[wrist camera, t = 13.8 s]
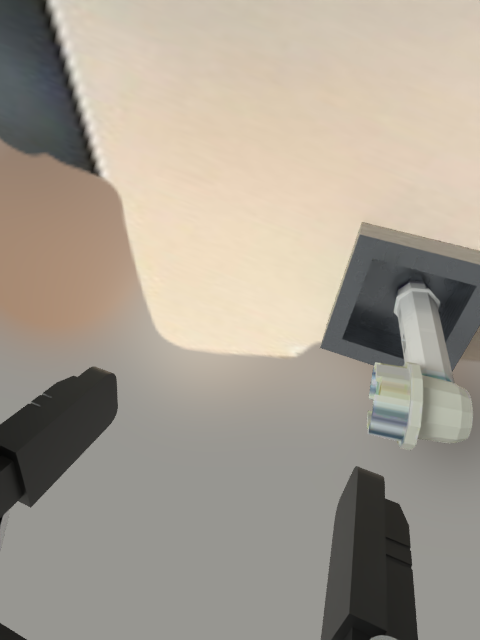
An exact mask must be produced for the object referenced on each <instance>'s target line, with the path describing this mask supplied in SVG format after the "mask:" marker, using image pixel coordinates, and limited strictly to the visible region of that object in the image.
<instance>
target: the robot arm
mask: <svg viewBox="0 0 480 640" xmlns="http://www.w3.org/2000/svg"><path fill="white" fill-rule="evenodd" d="M117 409H118V403H117V381H116V376H115V375H114V374H113V373H111V372H108V371H105V370H103V369H99V368H97V367H91V368H89V369H88V370H86V371H85V372H84V373H82V374H81V375H80V376H78V377H76V376H72V377H70V378H67V379H65V380H62V381H60V382H57V383H56V384H54V385H53V386H52V387H50V388H49V389H48V390H46V391H45V392H44V393H43V394H42V395H40V396H38V397H37V398H36V399H34V400H33V401H32V402H31V404H27V405H26V406H25V407H23V408H22V409H21V410H19V411H18V412H17V413H15V414H14V415H13V416H11V417H10V418H9V419H7V420H6V421H5V422H3V423H2V424H1V425H0V550H1V545H2V542H3V538H4V534H5V530H6V526H7V522H8V518H9V509H10V508H11V507H12V506H13V505H14V504H15V503H16V502H17V501H19V502H21V503H23V504H25V505H27V506H29V507H32V506H33V505H34V504H35V503H36V502H37V500H38V499H39V498H40V497H41V496H42V495H43V494H44V493H45V492H46V491H47V490H48V489H49V488H50V487H51V486H52V485H53V484H54V483H55V482H56V481H57V480H58V478H59V477H60V476H61V475H62V474H63V473H64V472H65V471H66V470H67V469H68V468H69V467H70V466H71V465H72V464H73V463H74V462H75V461H76V460H77V459H78V458H79V457H80V455H81V454H82V453H83V452H84V451H85V450H86V449H87V448H88V447H89V446H90V445H91V444H92V443H93V442H94V441H95V440H96V439H97V438H98V437H99V436H100V435H101V433H102V432H103V431H104V430H105V429H106V428H107V427H108V426H109V425H110V424H111V423H112V421H113V420H114V418H115V416H116V413H117ZM384 483H385V482H384V477H383V476H381V475H378V474H376V473H373V472H370V471H368V470H365V469H362V468H360V467H357V466H356V467H355V468H354V470H353V472H352V474H351V476H350V478H349V480H348V483H347V485H346V487H345V489H344V491H343V493H342V496H341V498H340V500H339V503H338V507H337V511H336V516H335V523H334V531H333V539H332V548H331V557H330V566H329V574H328V583H327V592H326V601H325V609H324V617H323V626H322V635H321V640H418V635H417V622H416V609H415V597H414V585H413V572H412V569H411V566H412V559H411V551H410V535H409V525H408V523H407V520H406V518H405V516H404V514H403V511H402V509H401V507H400V505H399V504H398V503H395V502H392V501H390V500H387V499H385V484H384ZM0 640H26V639H25V638H23V637H21V636H20V635H18V634H17V633H15V632H14V631H12V630H10V629H9V628H7V627H6V626H4V625H2V624H1V623H0Z"/></svg>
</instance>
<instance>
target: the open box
mask: <svg viewBox="0 0 480 640" xmlns="http://www.w3.org/2000/svg"><path fill="white" fill-rule="evenodd" d="M408 281H419V282H424V283H425V284H426V285H427V286H428V288H429V289H430V290H431V291H432V292H433V294H434V295H435V296H436V297H437V298H438V299H439V301H440V305H439V309H438V312H439V316H440V321H441V325H442V330H443V334H444V339H445V343H446V348H447V352H448V357H449V361H450V366H451V370H452V371H453V369H454V368H455V366H456V364H457V363H458V361H459V359H460V358H461V356H462V354H463V353H464V351H465V349H466V348H467V346H468V344H469V343H470V341H471V339H472V338H473V336H474V334H475V332H476V331H477V329H478V327H479V326H480V251H478V250H474V249H470V248H466V247H461V246H457V245H453V244H449V243H445V242H441V241H437V240H433V239H429V238H425V237H421V236H417V235H412V234H408V233H404V232H400V231H396V230H392V229H388V228H384V227H380V226H376V225H372V224H368V223H364V222H362V224H361V227H360V230H359V232H358V235H357V238H356V241H355V244H354V247H353V250H352V253H351V256H350V259H349V261H348V264H347V267H346V270H345V273H344V276H343V279H342V282H341V285H340V288H339V291H338V293H337V296H336V299H335V302H334V305H333V308H332V311H331V314H330V317H329V320H328V323H327V326H326V330H325V333H324V337H323V340H322V344H321V348H323V349H326V350H329V351H332V352H335V353H338V354H341V355H344V356H347V357H350V358H353V359H356V360H359V361H362V362H365V363H368V364H371V365H375V362H377V363H384V364H390V365H396V366H404V363H405V362H404V355H403V348H402V341H401V334H400V327H399V321H398V317H397V315H396V314H395V313H394V307H395V302H396V296H397V290H398V288H399V287H401V286H402V285H404V284H405V283H407V282H408Z"/></svg>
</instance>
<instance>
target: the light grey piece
mask: <svg viewBox="0 0 480 640" xmlns="http://www.w3.org/2000/svg"><path fill="white" fill-rule="evenodd" d="M439 305H440V301H439V299H438V298H437V297H436V296H435V295H434V294H433V292H432V291H431V290H430V289H429V288H428V286H427V285H426V284H425V283H424V282H419V281H408V282H407V283H405V284H404V285H402V286H401V287H399V288H398V290H397V296H396V302H395V307H394V313H395V314H396V315H397V317H398V321H399V327H400V334H401V341H402V348H403V355H404V362H405V363H404V366H396V365H390V364H384V363H377V362H375V365H374V368H373V373H372V379H371V386H370V393H369V399H372V400H373V411H368V416H367V429H368V435H373V436H377V437H382V438H386V439H391V440H395V441H397V443H398V445H399V447H400V448H402V449H407V450H411V449H413V448H414V447H415V446H416V443H417V439H422V440H429V441H437V442H445V443H456V442H461V441H464V440H466V439H467V438H468V437H469V434H470V432H471V429H472V420H473V409H472V400H471V397H470V395H469V392H468V391H467V390H466V389H464V388H462V387H460V386H458V385H456V384H455V383H454V379H453V375H452V370H451V366H450V361H449V357H448V352H447V348H446V343H445V339H444V334H443V330H442V325H441V321H440V316H439V312H438V309H439Z"/></svg>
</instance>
